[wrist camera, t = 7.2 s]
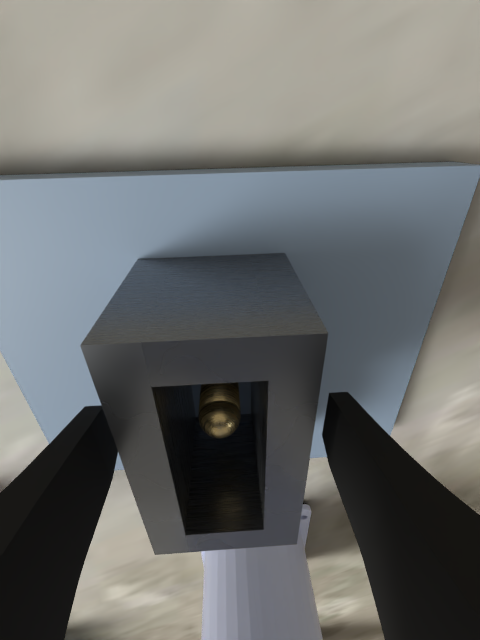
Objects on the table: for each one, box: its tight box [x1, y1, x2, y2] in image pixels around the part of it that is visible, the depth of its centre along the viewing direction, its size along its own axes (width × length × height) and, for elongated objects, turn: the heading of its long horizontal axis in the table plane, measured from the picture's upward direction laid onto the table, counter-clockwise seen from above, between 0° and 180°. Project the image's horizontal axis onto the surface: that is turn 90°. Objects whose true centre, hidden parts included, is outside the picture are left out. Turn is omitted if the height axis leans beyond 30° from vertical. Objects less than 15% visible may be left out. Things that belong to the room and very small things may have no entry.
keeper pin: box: [198, 382, 241, 438], centre depth 11 cm, size 1×1×4 cm
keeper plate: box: [0, 162, 480, 470], centre depth 13 cm, size 14×17×2 cm
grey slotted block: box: [80, 253, 328, 555], centre depth 11 cm, size 9×5×5 cm, turn 1°
